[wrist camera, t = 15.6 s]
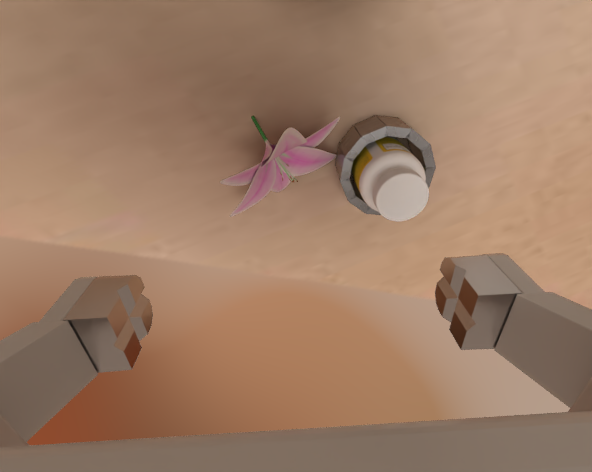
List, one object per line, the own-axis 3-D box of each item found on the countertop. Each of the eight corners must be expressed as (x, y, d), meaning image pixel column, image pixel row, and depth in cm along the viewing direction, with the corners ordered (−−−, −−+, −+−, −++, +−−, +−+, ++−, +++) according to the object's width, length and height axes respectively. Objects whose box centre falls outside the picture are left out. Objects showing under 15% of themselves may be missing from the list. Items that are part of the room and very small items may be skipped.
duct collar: (330, 191, 35) (334, 210, 31) (344, 111, 31) (350, 121, 27) (405, 199, 36) (418, 218, 32) (428, 121, 31) (447, 132, 28)
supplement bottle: (360, 192, 35) (380, 240, 27) (339, 146, 33) (354, 184, 24) (409, 168, 34) (447, 211, 25) (391, 120, 31) (426, 149, 23)
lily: (221, 192, 36) (247, 257, 31) (175, 91, 27) (200, 160, 21) (320, 153, 38) (362, 209, 32) (309, 45, 28) (366, 98, 23)
